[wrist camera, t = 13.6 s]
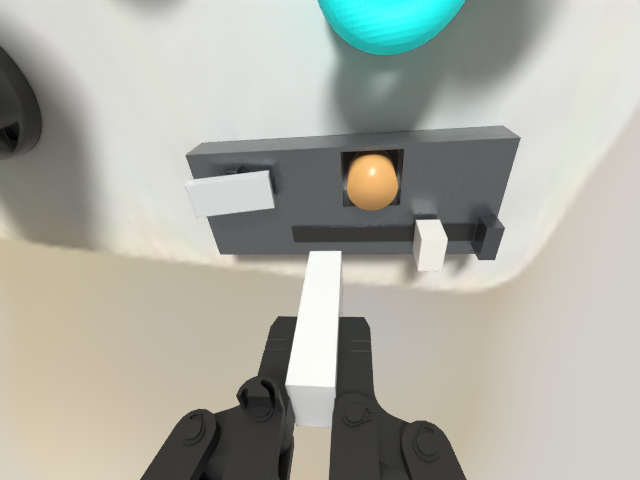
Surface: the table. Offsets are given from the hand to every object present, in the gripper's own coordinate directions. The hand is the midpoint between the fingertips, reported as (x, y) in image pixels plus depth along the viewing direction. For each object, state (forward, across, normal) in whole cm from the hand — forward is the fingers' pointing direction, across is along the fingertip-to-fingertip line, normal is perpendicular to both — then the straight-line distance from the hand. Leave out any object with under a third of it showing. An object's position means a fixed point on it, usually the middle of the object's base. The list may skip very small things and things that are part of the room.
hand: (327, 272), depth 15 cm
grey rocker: (+15, -11, -3) cm, 19 cm away
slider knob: (+17, +9, -9) cm, 21 cm away
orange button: (+20, +3, -3) cm, 21 cm away
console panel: (+21, 0, -6) cm, 22 cm away
